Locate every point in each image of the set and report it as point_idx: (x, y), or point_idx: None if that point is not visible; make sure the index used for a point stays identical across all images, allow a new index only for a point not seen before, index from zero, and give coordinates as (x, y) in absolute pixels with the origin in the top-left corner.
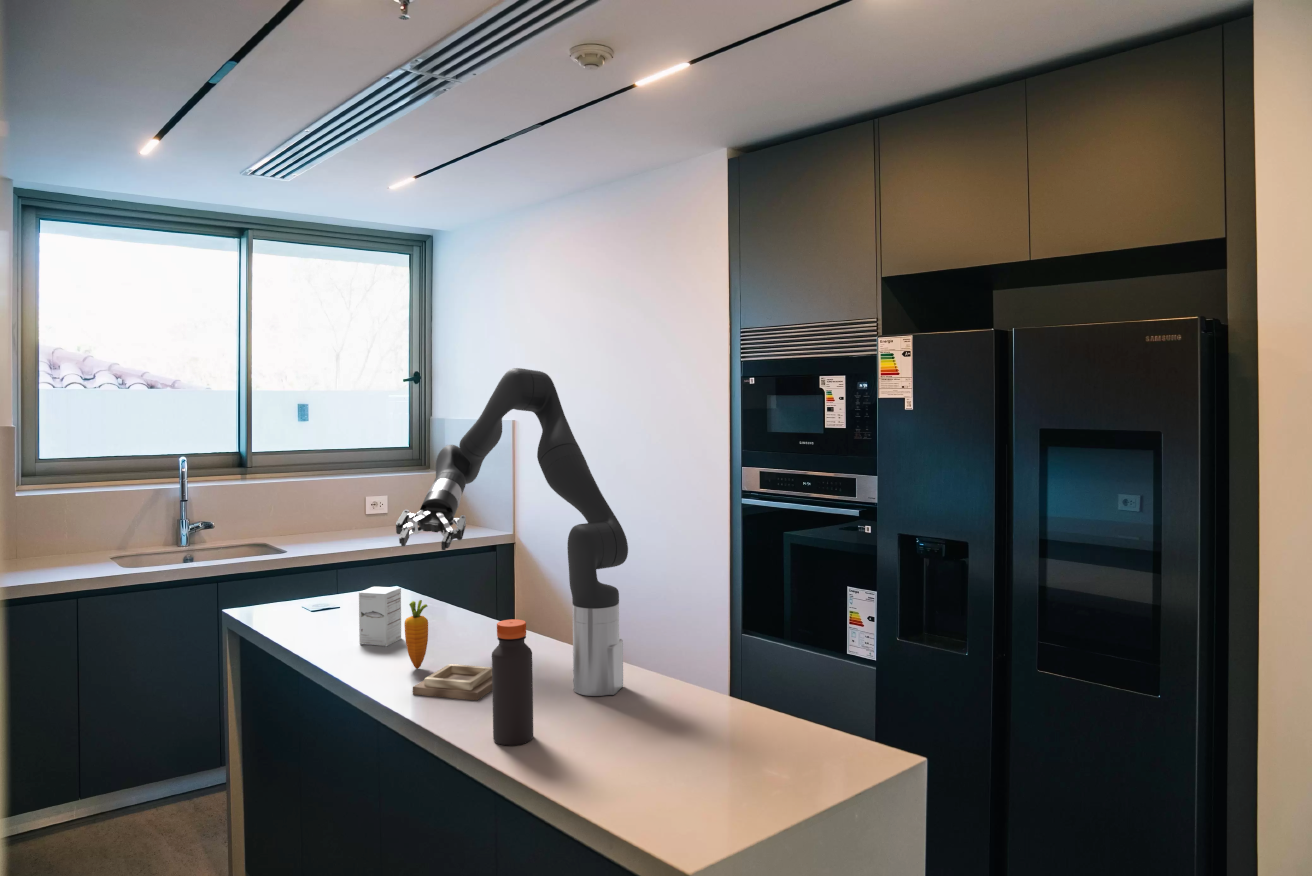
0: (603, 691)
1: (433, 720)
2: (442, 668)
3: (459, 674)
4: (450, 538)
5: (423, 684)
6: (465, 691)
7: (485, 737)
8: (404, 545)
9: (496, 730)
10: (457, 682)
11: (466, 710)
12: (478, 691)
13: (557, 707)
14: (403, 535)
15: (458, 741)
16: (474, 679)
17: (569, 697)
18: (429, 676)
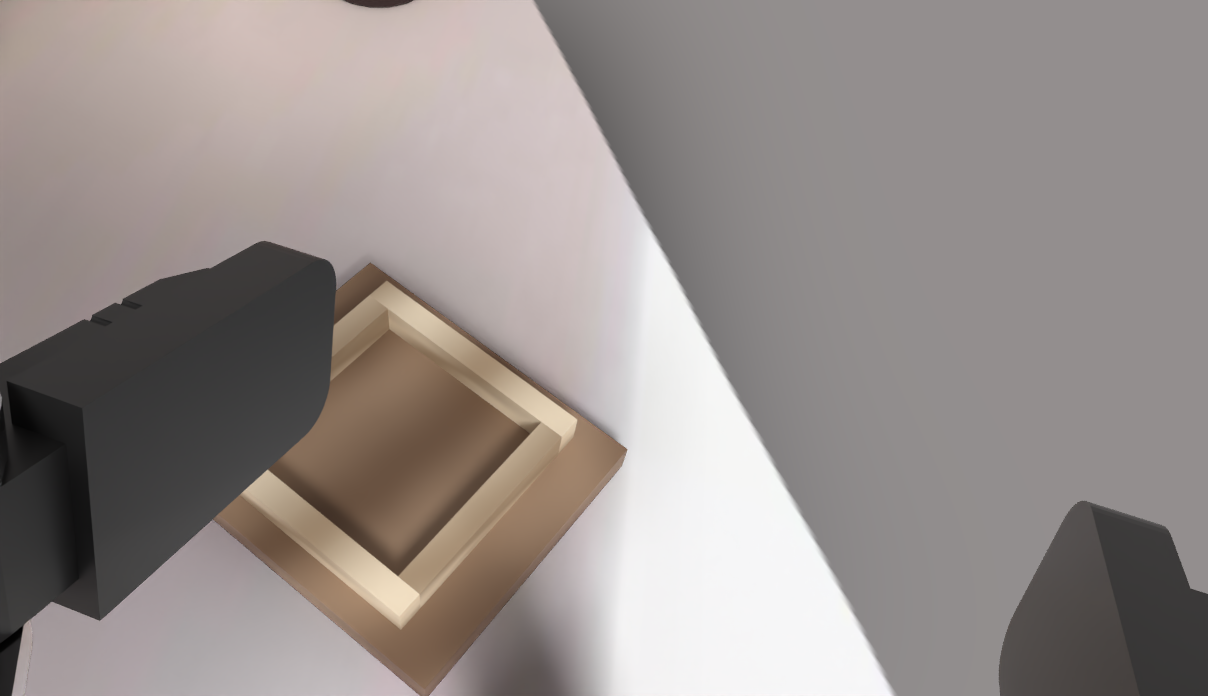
0: None
1: (577, 175)
2: (458, 545)
3: (367, 544)
4: (75, 326)
5: (574, 463)
6: (413, 296)
7: (449, 9)
8: (1012, 624)
9: None
10: (437, 320)
11: (444, 209)
12: (360, 273)
13: (118, 105)
14: (1155, 567)
15: (531, 17)
16: (354, 312)
17: (10, 168)
18: (548, 440)
